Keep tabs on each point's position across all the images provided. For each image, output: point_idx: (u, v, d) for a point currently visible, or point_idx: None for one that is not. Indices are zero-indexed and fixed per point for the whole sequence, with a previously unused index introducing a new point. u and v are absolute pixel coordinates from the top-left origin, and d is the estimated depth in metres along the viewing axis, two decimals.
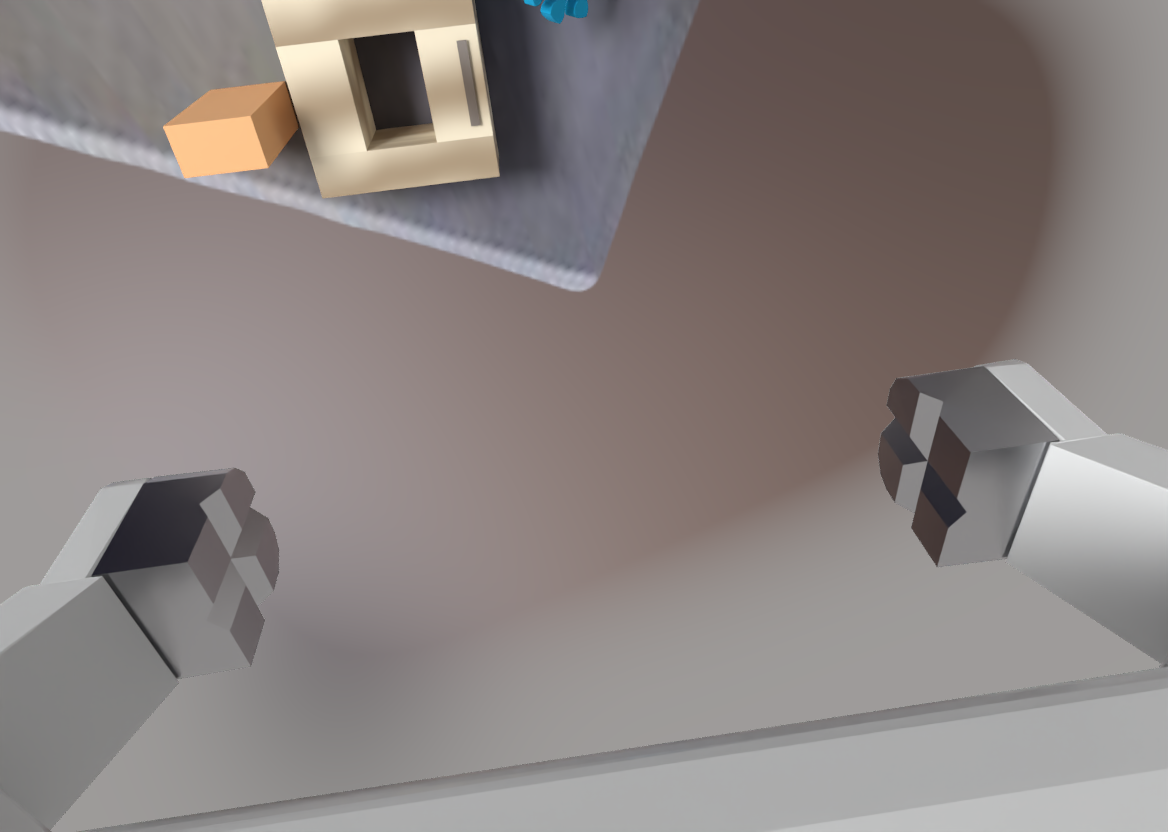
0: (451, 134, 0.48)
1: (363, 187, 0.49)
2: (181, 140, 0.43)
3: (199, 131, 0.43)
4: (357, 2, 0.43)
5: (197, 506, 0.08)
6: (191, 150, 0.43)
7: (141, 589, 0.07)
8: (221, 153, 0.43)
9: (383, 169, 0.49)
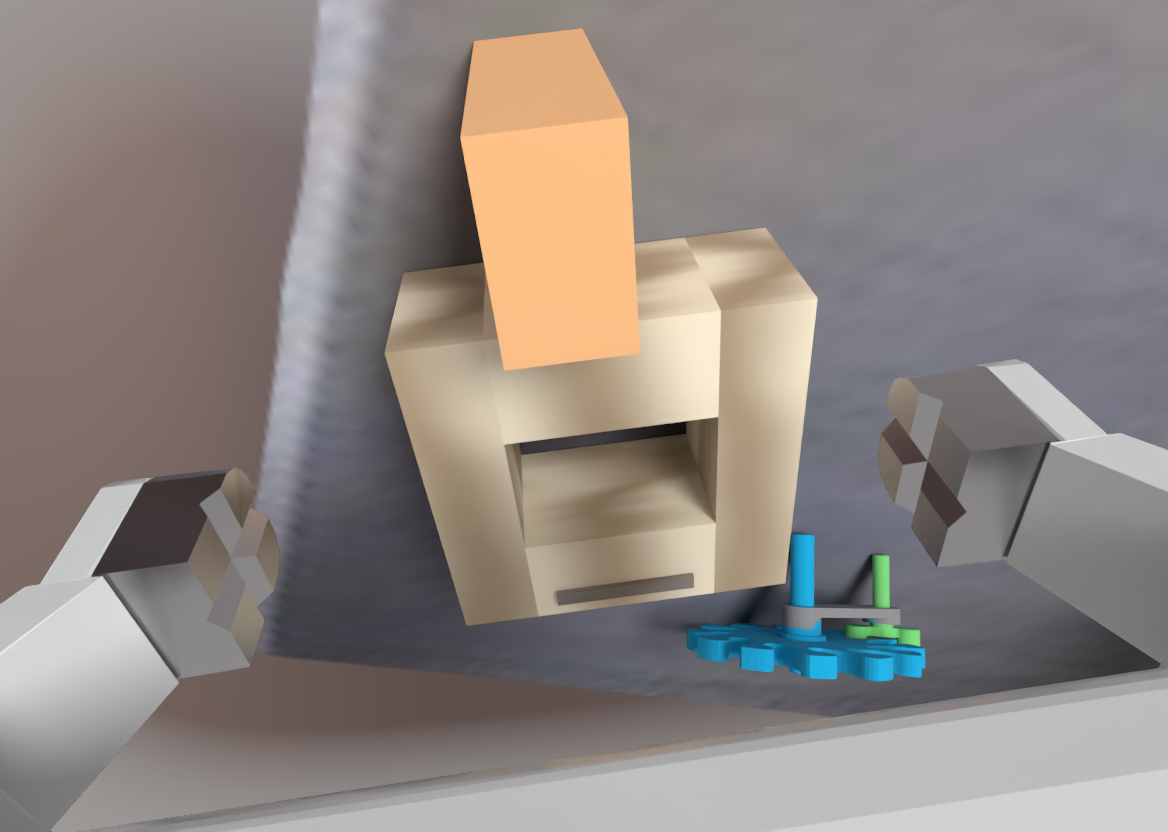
0: (540, 567, 0.26)
1: (420, 431, 0.22)
2: (583, 162, 0.14)
3: (607, 220, 0.14)
4: (773, 451, 0.23)
5: (197, 506, 0.08)
6: (550, 184, 0.14)
7: (141, 589, 0.07)
8: (542, 263, 0.15)
9: (465, 468, 0.23)
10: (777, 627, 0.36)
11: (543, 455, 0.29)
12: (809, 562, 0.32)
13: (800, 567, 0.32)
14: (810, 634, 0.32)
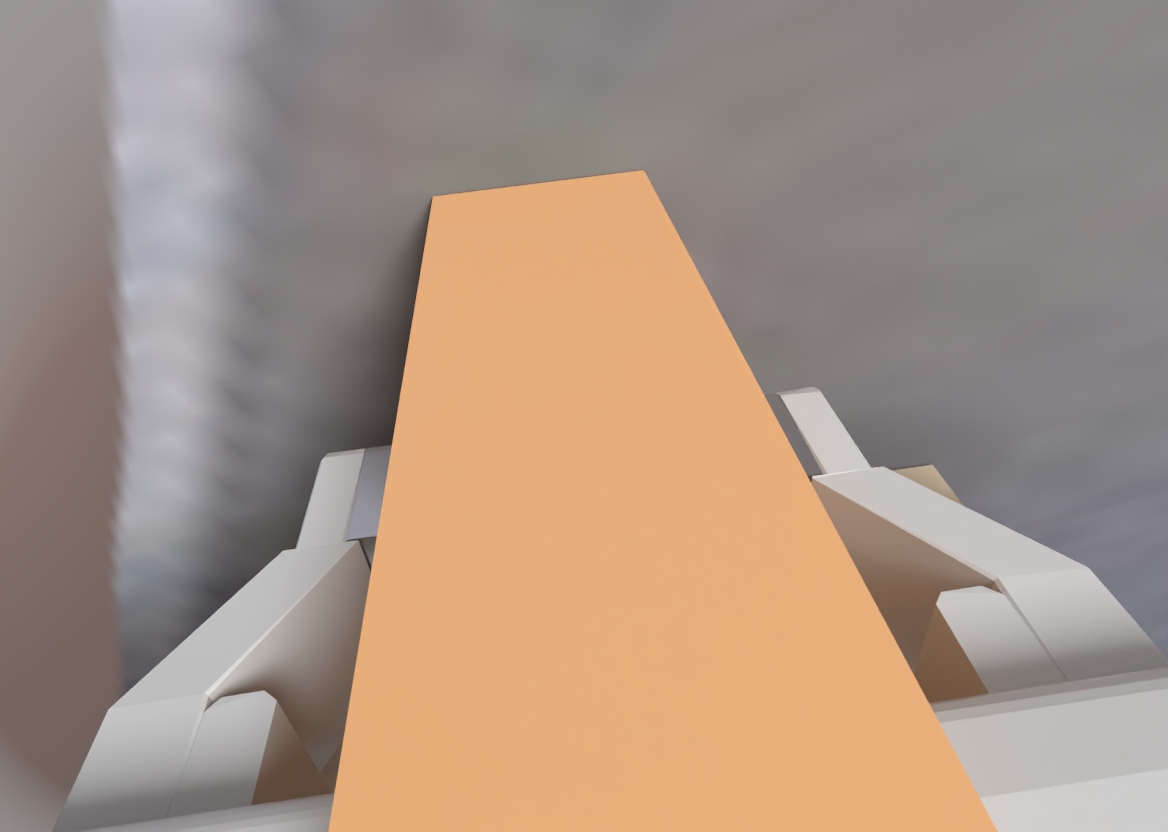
0: None
1: None
2: None
3: None
4: None
5: None
6: None
7: None
8: None
9: None
10: None
11: None
12: None
13: None
14: None
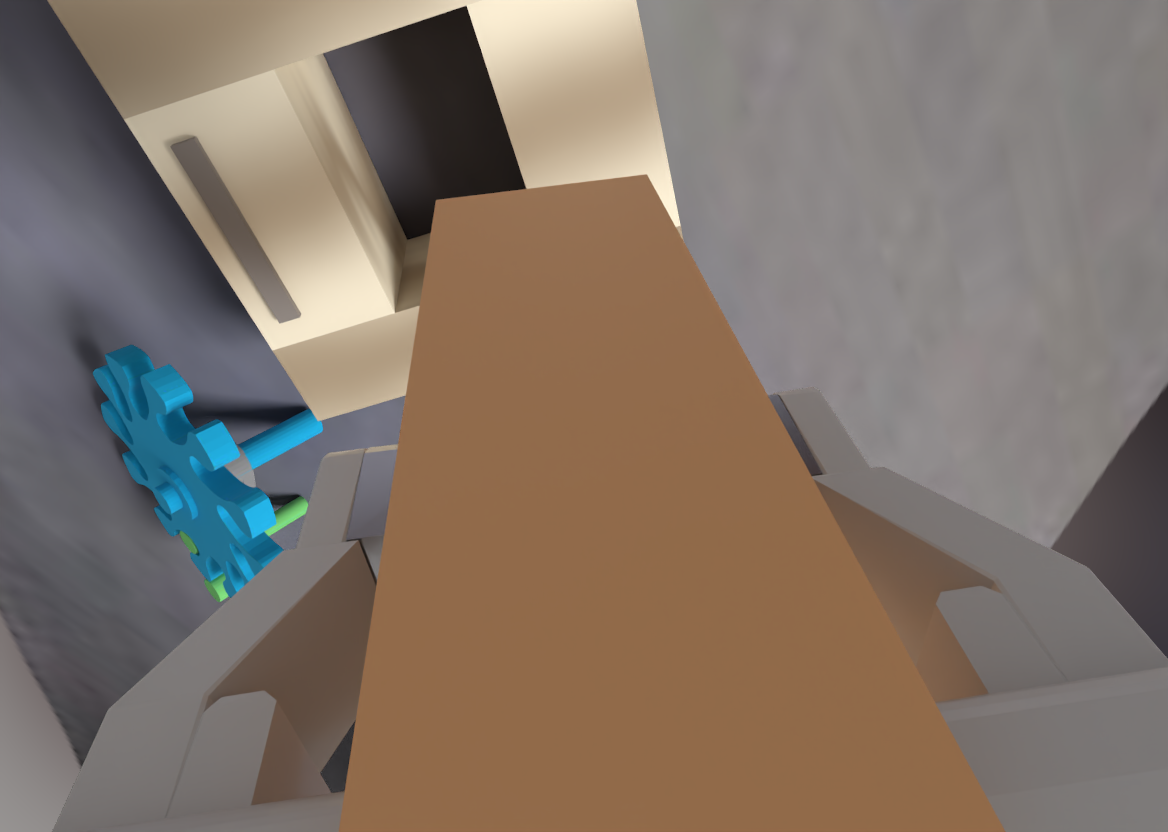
0: (241, 101, 0.17)
1: None
2: None
3: None
4: None
5: None
6: None
7: None
8: None
9: None
10: None
11: (325, 63, 0.21)
12: (295, 442, 0.27)
13: (286, 436, 0.27)
14: None
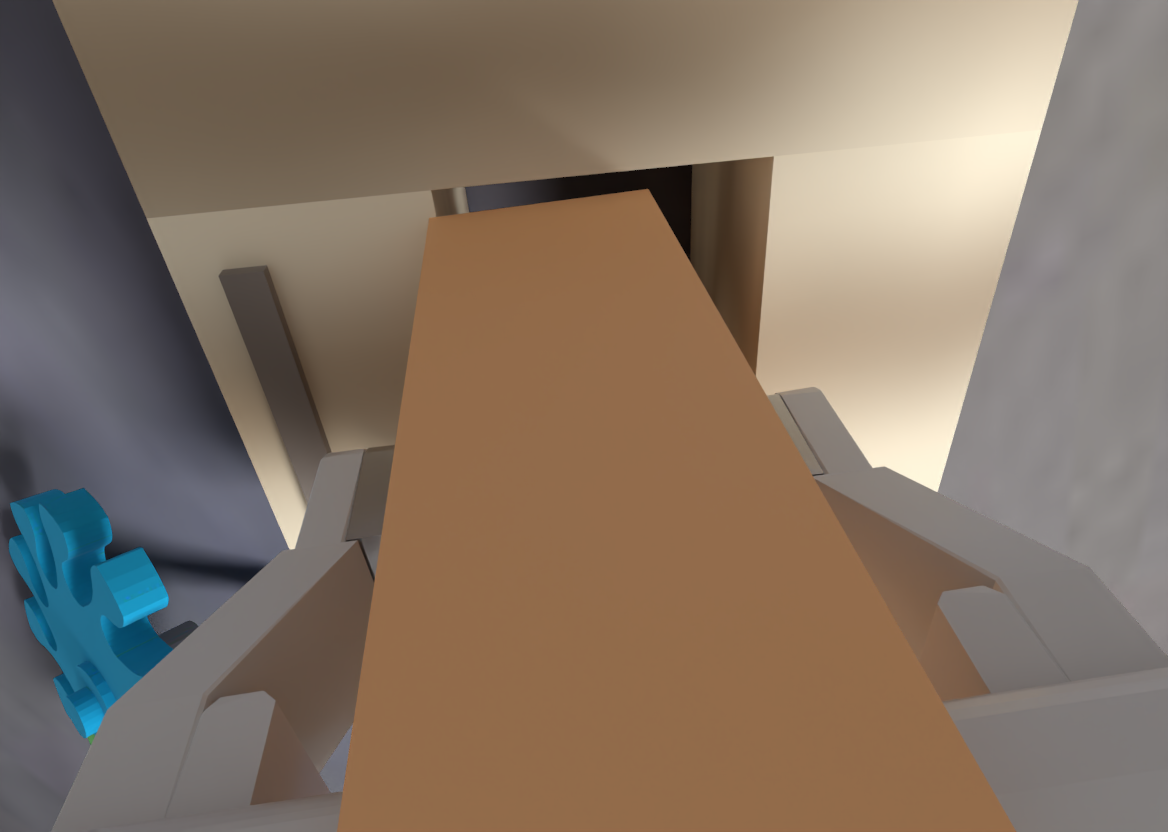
0: (360, 226, 0.10)
1: None
2: None
3: None
4: None
5: None
6: None
7: None
8: None
9: (721, 55, 0.09)
10: None
11: None
12: None
13: None
14: None
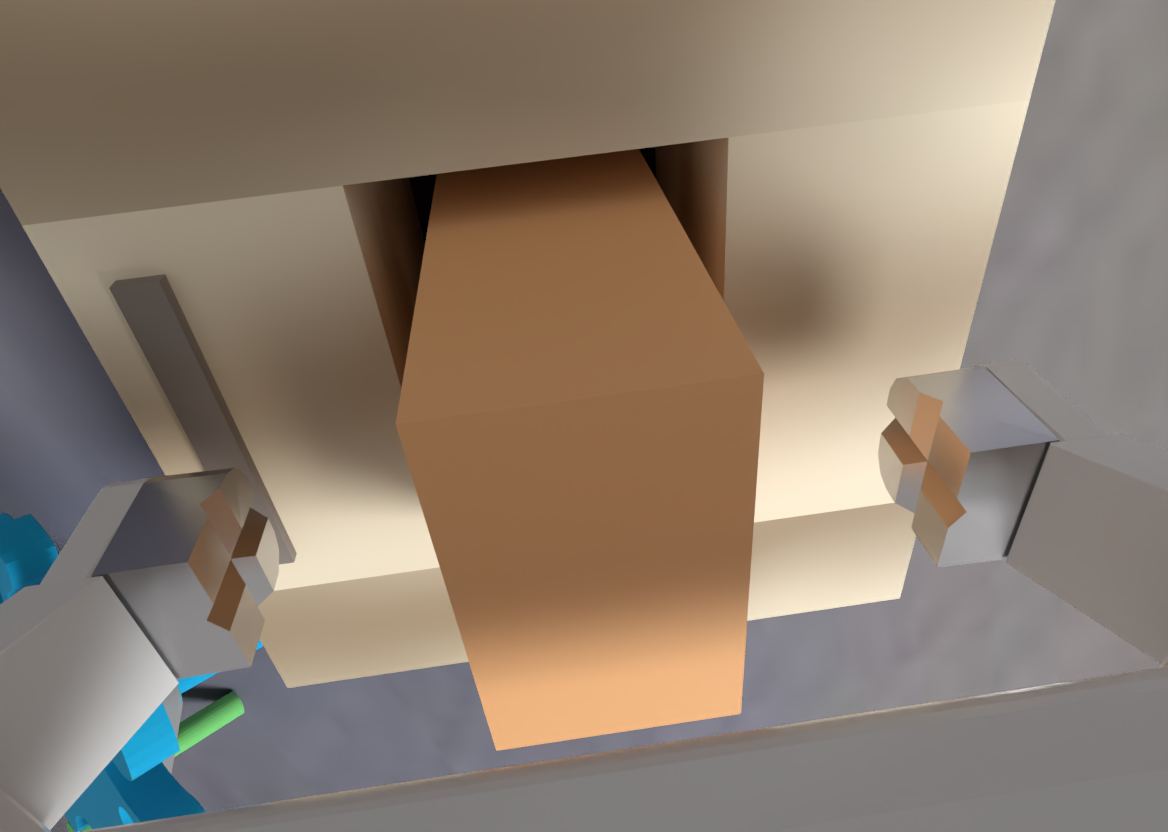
0: (265, 228, 0.09)
1: None
2: (662, 455, 0.06)
3: (701, 542, 0.07)
4: None
5: (197, 506, 0.08)
6: (591, 494, 0.07)
7: (141, 589, 0.07)
8: (571, 611, 0.07)
9: (662, 22, 0.08)
10: None
11: None
12: None
13: None
14: None
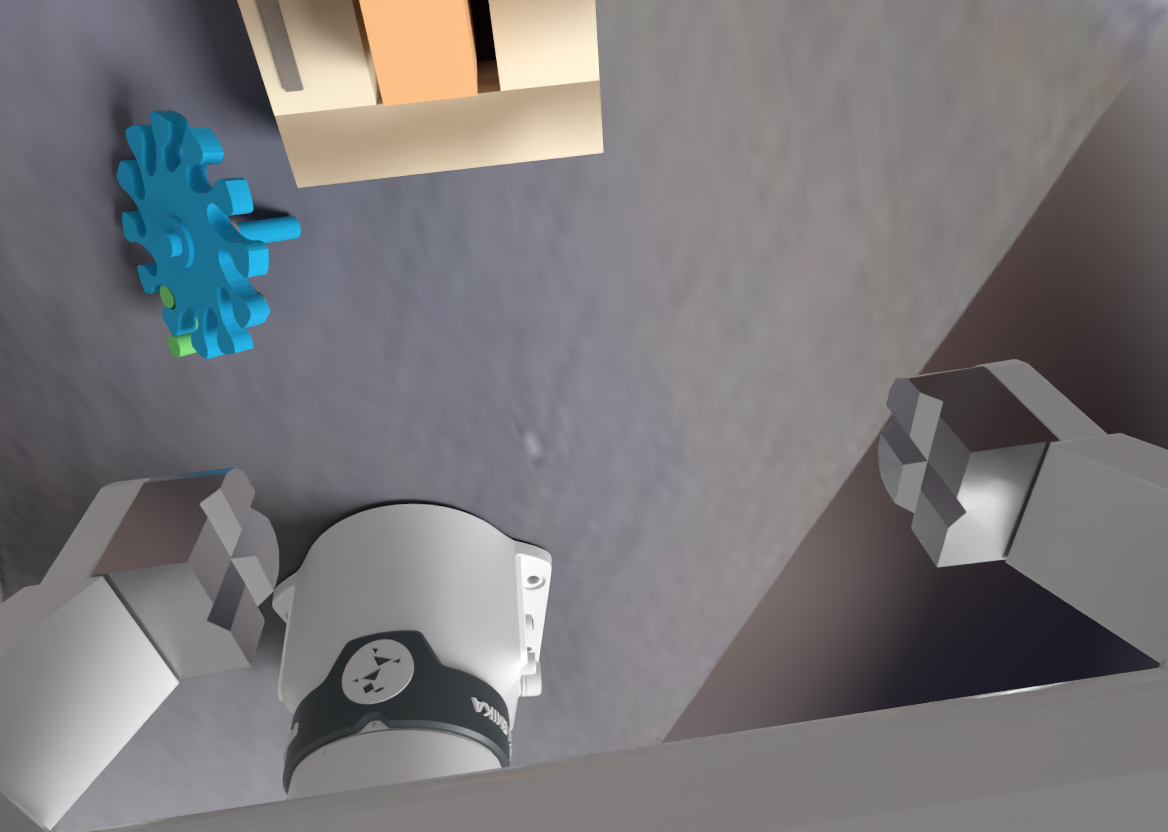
0: None
1: None
2: None
3: None
4: (464, 145, 0.28)
5: (197, 506, 0.08)
6: None
7: (141, 589, 0.07)
8: (403, 18, 0.22)
9: None
10: None
11: None
12: (276, 237, 0.33)
13: (271, 229, 0.33)
14: None
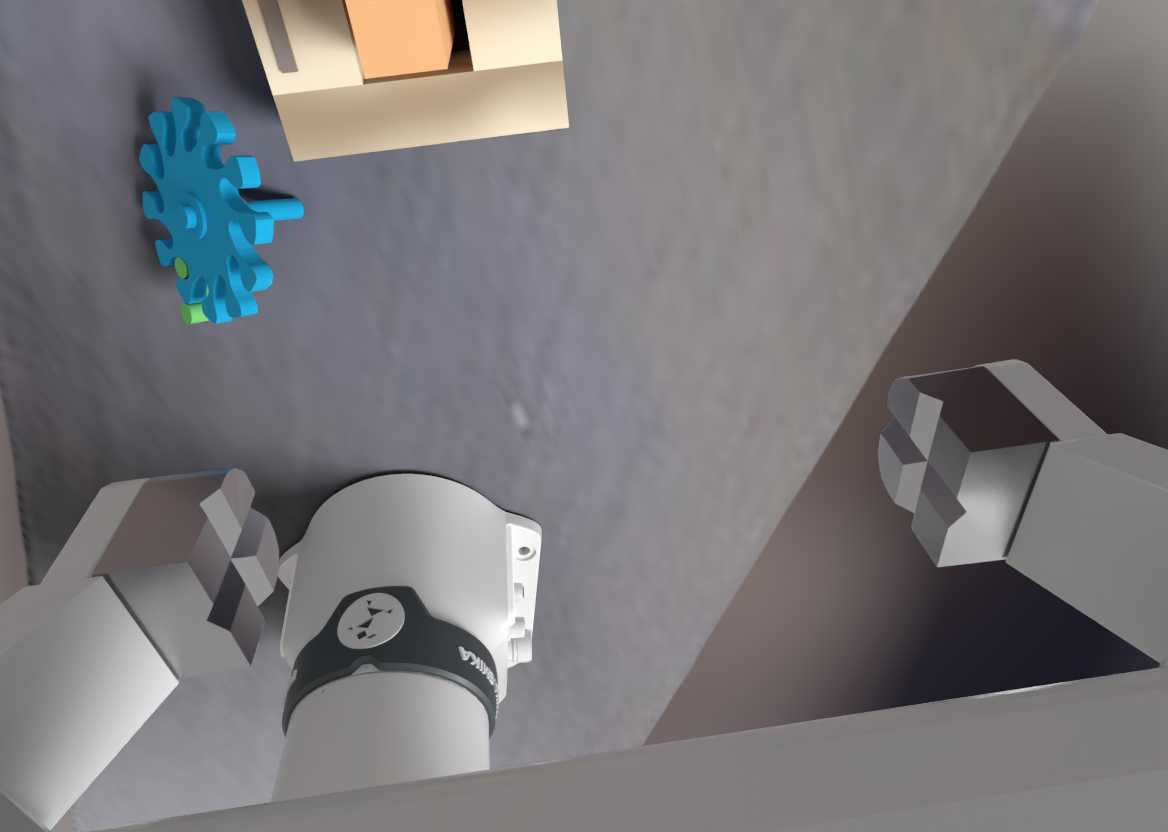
0: None
1: None
2: None
3: None
4: (442, 121, 0.31)
5: (197, 506, 0.08)
6: None
7: (141, 589, 0.07)
8: (379, 0, 0.25)
9: None
10: None
11: None
12: (281, 216, 0.37)
13: (277, 208, 0.36)
14: None
